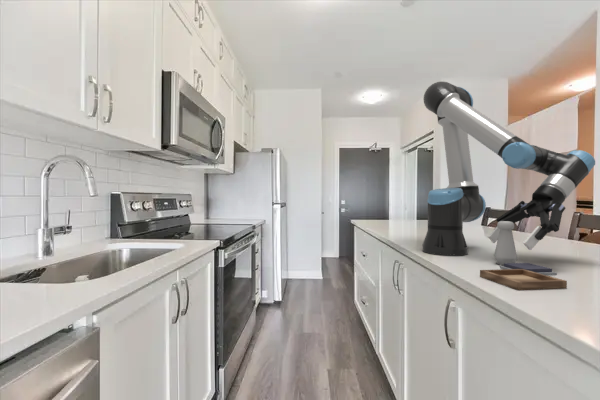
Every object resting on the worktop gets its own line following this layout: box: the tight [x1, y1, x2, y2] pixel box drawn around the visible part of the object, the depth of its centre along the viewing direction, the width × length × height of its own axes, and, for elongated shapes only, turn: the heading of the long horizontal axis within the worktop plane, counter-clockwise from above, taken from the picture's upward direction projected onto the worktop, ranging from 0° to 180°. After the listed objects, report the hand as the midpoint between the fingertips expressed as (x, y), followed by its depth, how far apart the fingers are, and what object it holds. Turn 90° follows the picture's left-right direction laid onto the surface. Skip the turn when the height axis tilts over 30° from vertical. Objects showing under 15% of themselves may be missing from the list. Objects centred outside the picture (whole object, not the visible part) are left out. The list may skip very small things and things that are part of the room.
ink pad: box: [499, 262, 558, 276], centre depth 88 cm, size 9×9×2 cm
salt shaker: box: [493, 221, 518, 266], centre depth 97 cm, size 6×6×13 cm
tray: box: [479, 268, 568, 291], centre depth 77 cm, size 12×12×2 cm
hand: (507, 243), depth 96 cm, fingers open, 13 cm apart
